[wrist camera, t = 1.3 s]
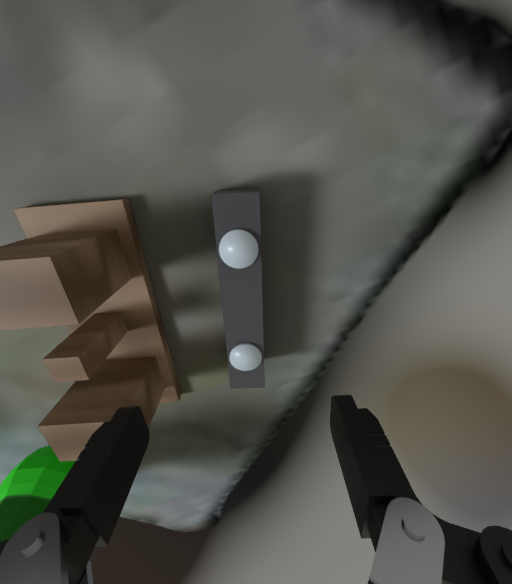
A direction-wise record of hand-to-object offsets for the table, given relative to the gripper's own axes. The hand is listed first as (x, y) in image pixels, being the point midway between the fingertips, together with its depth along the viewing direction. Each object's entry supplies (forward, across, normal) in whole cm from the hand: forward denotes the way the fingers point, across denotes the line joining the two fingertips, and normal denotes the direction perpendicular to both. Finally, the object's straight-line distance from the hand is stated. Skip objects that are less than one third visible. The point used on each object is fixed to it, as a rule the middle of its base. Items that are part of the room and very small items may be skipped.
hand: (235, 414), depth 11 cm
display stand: (+13, +12, +2) cm, 18 cm away
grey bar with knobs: (+13, 0, 0) cm, 13 cm away
